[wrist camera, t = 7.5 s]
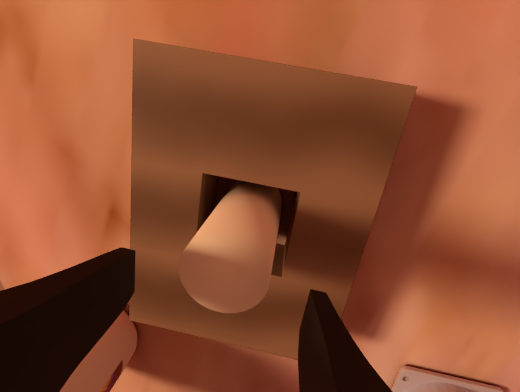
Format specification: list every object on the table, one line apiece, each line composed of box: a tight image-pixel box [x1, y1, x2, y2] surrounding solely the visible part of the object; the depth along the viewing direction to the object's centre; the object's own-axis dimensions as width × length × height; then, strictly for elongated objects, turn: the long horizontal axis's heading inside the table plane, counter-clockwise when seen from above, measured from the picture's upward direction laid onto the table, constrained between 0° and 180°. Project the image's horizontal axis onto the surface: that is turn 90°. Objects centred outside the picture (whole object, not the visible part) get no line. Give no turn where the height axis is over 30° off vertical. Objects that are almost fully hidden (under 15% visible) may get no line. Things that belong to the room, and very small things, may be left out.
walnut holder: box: [129, 39, 417, 360], centre depth 19 cm, size 18×14×4 cm
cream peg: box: [179, 180, 282, 313], centre depth 17 cm, size 4×4×9 cm
